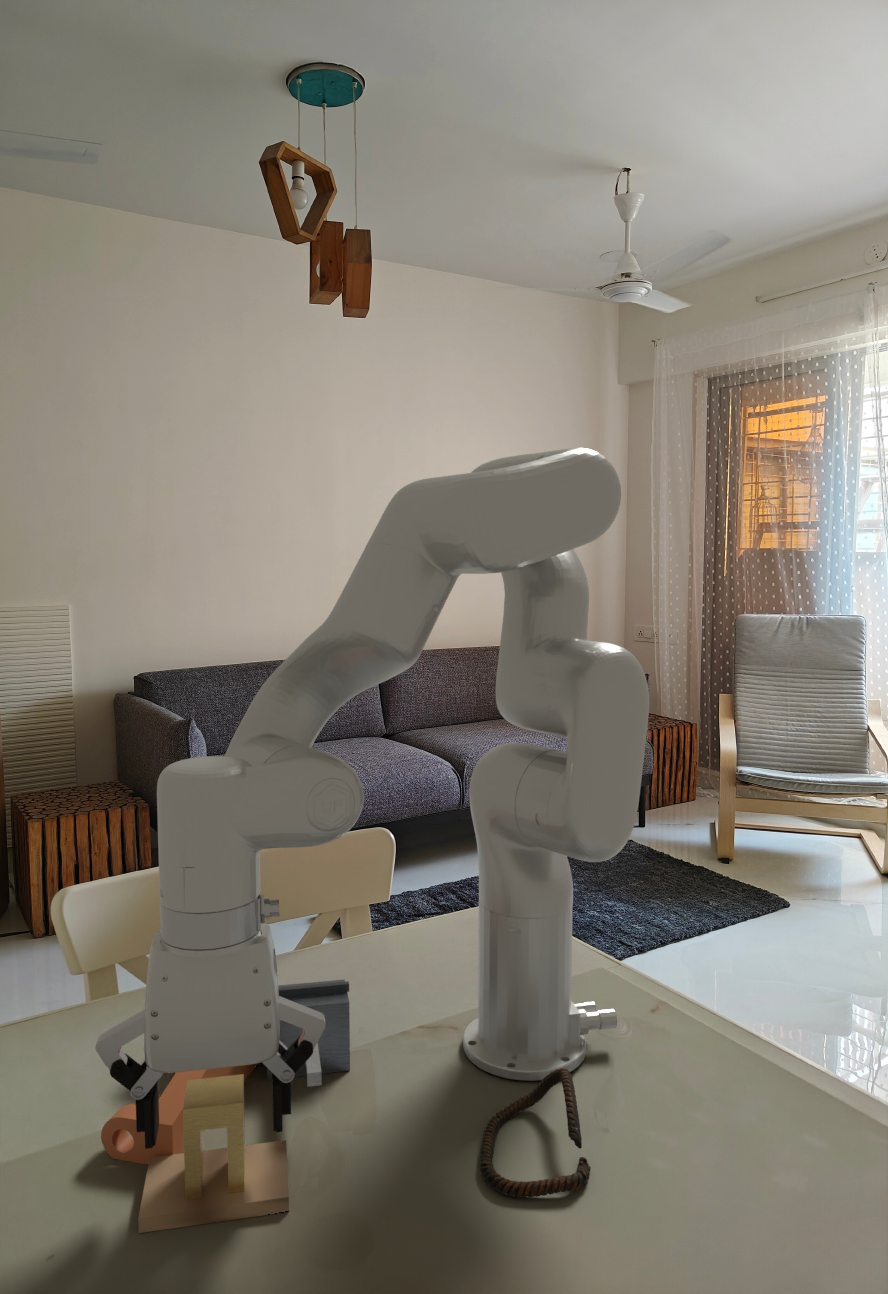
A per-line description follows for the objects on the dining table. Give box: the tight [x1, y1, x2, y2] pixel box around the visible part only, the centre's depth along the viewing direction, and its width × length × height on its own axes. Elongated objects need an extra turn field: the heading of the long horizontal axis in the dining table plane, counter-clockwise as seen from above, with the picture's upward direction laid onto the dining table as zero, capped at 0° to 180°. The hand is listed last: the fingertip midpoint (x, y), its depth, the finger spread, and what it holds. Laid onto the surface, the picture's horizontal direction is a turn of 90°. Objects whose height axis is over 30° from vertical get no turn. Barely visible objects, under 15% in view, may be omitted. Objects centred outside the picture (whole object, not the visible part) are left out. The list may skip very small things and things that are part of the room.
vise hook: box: [266, 979, 351, 1087], centre depth 85 cm, size 8×16×8 cm, turn 12°
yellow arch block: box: [183, 1074, 246, 1200], centre depth 70 cm, size 4×4×7 cm
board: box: [137, 1140, 290, 1234], centre depth 71 cm, size 11×7×1 cm, turn 102°
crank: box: [100, 1063, 259, 1165], centre depth 84 cm, size 20×8×8 cm, turn 167°
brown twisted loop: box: [479, 1068, 592, 1198], centre depth 75 cm, size 13×5×10 cm
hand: (215, 1129), depth 70 cm, fingers open, 9 cm apart
